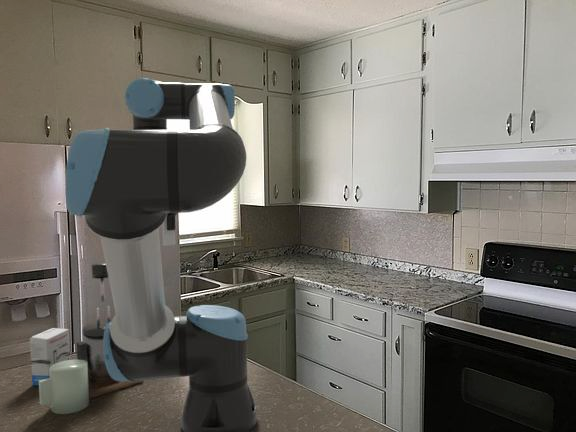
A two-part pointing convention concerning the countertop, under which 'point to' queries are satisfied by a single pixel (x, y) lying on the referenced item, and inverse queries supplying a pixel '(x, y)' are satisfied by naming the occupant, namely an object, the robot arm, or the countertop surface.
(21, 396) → the countertop surface
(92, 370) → the glass french press
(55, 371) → the sage mug
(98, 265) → the plunger
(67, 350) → the ink box
